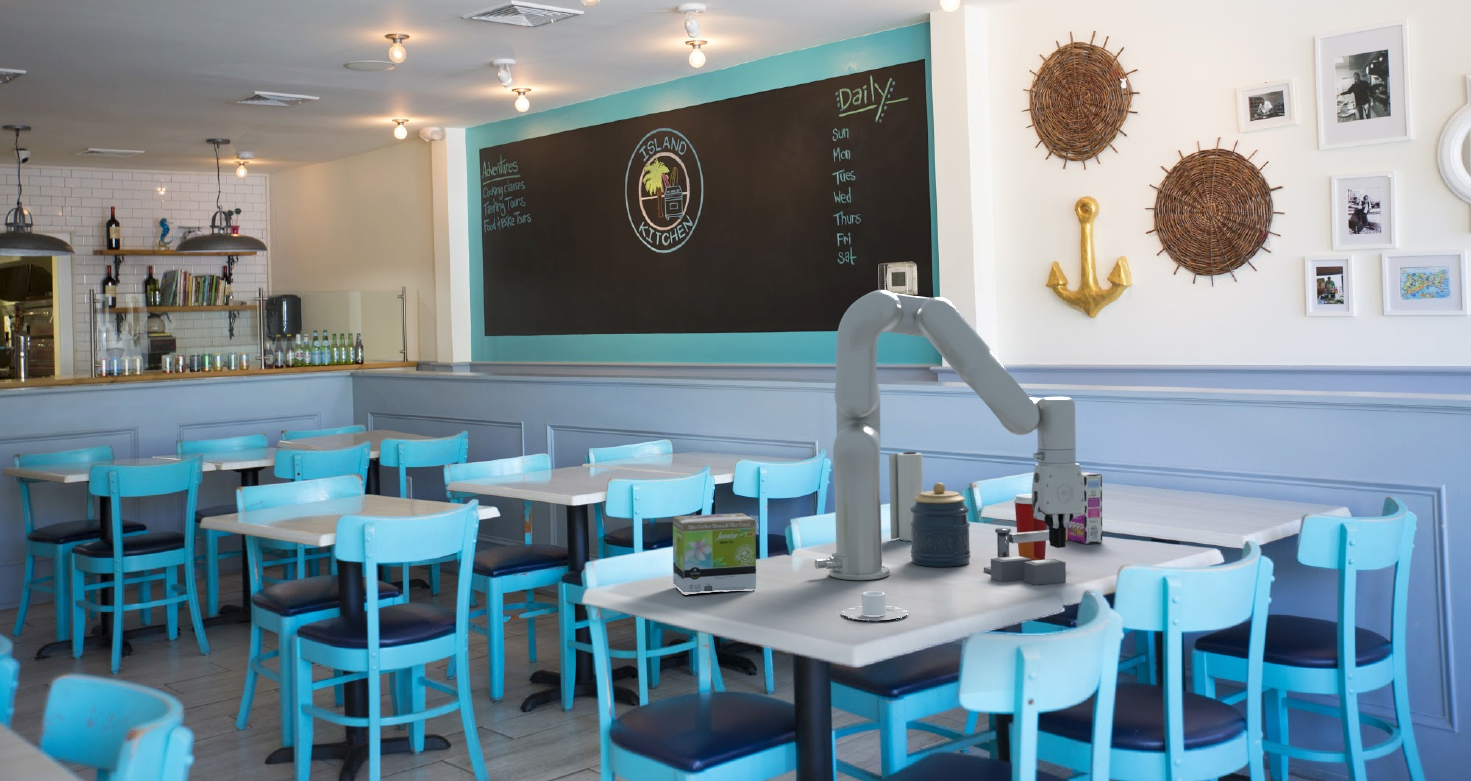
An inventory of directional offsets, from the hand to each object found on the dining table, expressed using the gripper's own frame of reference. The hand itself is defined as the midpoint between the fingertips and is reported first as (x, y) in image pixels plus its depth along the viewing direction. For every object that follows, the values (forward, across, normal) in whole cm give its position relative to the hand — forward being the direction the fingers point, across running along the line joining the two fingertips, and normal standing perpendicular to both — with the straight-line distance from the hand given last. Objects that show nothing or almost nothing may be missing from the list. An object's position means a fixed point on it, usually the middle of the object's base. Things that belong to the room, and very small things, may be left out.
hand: (1057, 546), depth 245 cm
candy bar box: (+6, +29, +33) cm, 45 cm away
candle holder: (+7, -49, -15) cm, 52 cm away
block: (+6, -10, +2) cm, 12 cm away
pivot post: (+6, -8, +8) cm, 13 cm away
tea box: (+7, -68, +19) cm, 71 cm away
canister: (+6, -14, +24) cm, 28 cm away
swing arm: (0, 0, +8) cm, 8 cm away
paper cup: (+6, +6, +19) cm, 21 cm away
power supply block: (+6, -6, -4) cm, 9 cm away
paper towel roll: (+6, -6, +54) cm, 54 cm away
